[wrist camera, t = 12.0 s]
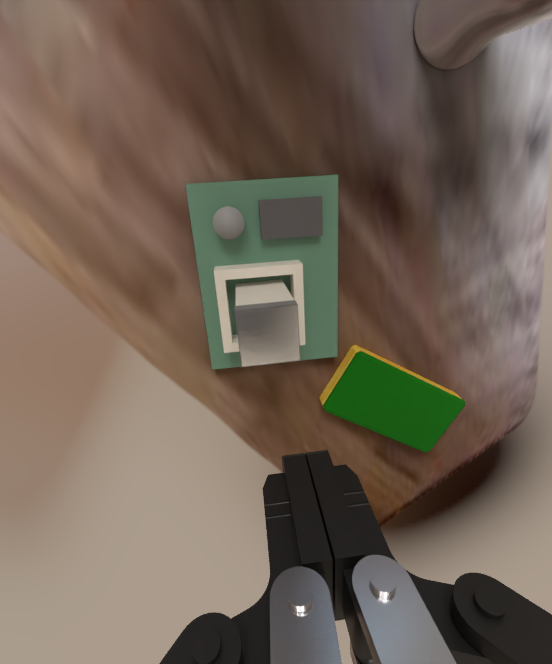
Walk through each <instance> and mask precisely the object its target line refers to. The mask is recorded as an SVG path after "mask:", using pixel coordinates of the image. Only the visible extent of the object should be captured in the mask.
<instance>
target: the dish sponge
mask: <svg viewBox="0 0 552 664" xmlns="http://www.w3.org/2000/svg"><path fill="white" fill-rule="evenodd" d="M319 398H320V401H321V403H322V406H323V408H324V410H325V411H326V412H328V413H331V414H333V415H335V416H338V417H340V418H343V419H345V420H348V421H350V422H352V423H355V424H357V425H360V426H362V427H365V428H367V429H370V430H372V431H374V432H377V433H379V434H382V435H384V436H387V437H389V438H391V439H394V440H396V441H399V442H401V443H404V444H406V445H408V446H411V447H413V448H416V449H418V450H421V451H423V452H429V451H430V450H431V449H432V448H433V446H434V445H435V444H436V442H437V441H438V440H439V439H440V437H441V436H442V435H443V433H444V432H445V431H446V429H447V428H448V427H449V426H450V424H451V423H452V422H453V420H454V419H455V418H456V417H457V415H458V414H459V413H460V411H461V410H462V409H463V407H464V406H465V401H464V400H463V399H461V397H459V396H458V395H457V394H456V393H455V392H453V391H451V390H449V389H447V388H445V387H443V386H441V385H438V384H436V383H434V382H432V381H430V380H428V379H426V378H424V377H422V376H420V375H418V374H416V373H414V372H411V371H409V370H407V369H405V368H403V367H401V366H399V365H397V364H395V363H393V362H391V361H389V360H386V359H384V358H382V357H380V356H378V355H376V354H374V353H372V352H370V351H368V350H366V349H364V348H362V347H359V346H357V345H354V346H351V348H350V350H349V351H348V353H347V354H346V356H345V357H344V359H343V361H342V362H341V364H340V365H339V367H338V369H337V370H336V372H335V373H334V375H333V377H332V378H331V380H330V381H329V383H328V385H327V386H326V388H325V389H324V391H323V393H322V394H321V396H320V397H319Z"/></svg>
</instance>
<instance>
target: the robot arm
mask: <svg viewBox="0 0 552 664" xmlns="http://www.w3.org/2000/svg"><path fill="white" fill-rule="evenodd" d="M282 466H283V473H279V474H271V475H268V477H267V479H266V482H265V484H264V487H263V496H264V507H265V517H266V529H267V540H268V551H269V562H270V579H269V583H268V586H267V589H266V591H265V593H264V594H263V596H262V597H261V598H260V599H259V601H258V602H257V603H255V604H254V605H253V606H252V607H250V608H249V609H247V610H245V611H244V612H242V613H240V614H239V615H237V616H235V617H233V618H232V619H230V618H229V617H227V616H226V615H224V614H221V613H207V614H204V615H201V616H199V617H197V618H196V619H194V620H193V621H192V622H191V623H190V624H189V625H187V627H186V628H185V629H184V630H183V632H182V633H181V634H180V636H179V637H178V639H177V640H176V641H175V643H174V644H173V646H172V647H171V648H170V650H169V651H168V653H167V654H166V655H165V657H164V658H163V660H162V661H161V662H160V664H342V662H341V656H340V650H339V644H338V638H337V632H336V626H335V621H336V620H343V619H345V620H346V624H347V628H348V632H349V636H350V653H351V658H352V661H353V664H552V615H551V614H550V613H548V612H547V611H545V610H543V609H542V608H540V607H539V606H537V605H535V604H534V603H532V602H531V601H529V600H528V599H526V598H524V597H523V596H521V595H520V594H518V593H516V592H515V591H513V590H512V589H510V588H509V587H507V586H505V585H504V584H502V583H501V582H499V581H497V580H496V579H494V578H492V577H489V576H487V575H484V574H481V573H467V574H464V575H462V576H460V577H459V578H458V579H457V580H456V582H455V584H454V585H451V584H446V583H441V582H436V581H431V580H426V579H422V578H419V577H417V576H415V575H413V574H411V573H410V572H408V571H407V570H405V569H404V568H403V567H402V566H401V565H400V564H399V563H398V562H397V561H396V560H395V558H394V557H393V556H392V554H391V552H390V550H389V548H388V545H387V543H386V541H385V538H384V536H383V534H382V531H381V529H380V527H379V524H378V522H377V520H376V518H375V515H374V513H373V511H372V508H371V506H370V505H369V502H368V499H367V497H366V495H365V493H364V490H363V488H362V485H361V483H360V481H359V479H358V476H357V475H356V474H355V473H354V472H353V471H352V470H351V469H350V468H349V467H348V466H347V465H339V466H333V464H332V461H331V458H330V455H329V453H328V451H327V450H324V451H316V452H308V453H305V455H304V453H301V454H293V455H285V456H282ZM334 618H335V620H334Z"/></svg>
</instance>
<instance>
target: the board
mask: <svg viewBox="0 0 552 664" xmlns="http://www.w3.org/2000/svg"><path fill="white" fill-rule="evenodd" d="M186 191H187V198H188V205H189V212H190V219H191V226H192V233H193V239H194V246H195V253H196V260H197V267H198V274H199V281H200V288H201V295H202V302H203V309H204V316H205V323H206V329H207V336H208V343H209V350H210V357H211V364H212V370H214V369H223V368H233V367H241V359H240V351H239V342H238V334H237V326H236V318H235V306H236V284H237V283H248V282H258V281H269V280H279V279H282V281H283V282H284V284H285V286H286V287H287V289H288V291H289V292H290V294H291V296H292V297H293V299H294V300H295V301H296V302H297V304H298V321H299V340H300V360H309V359H319V358H329V357H338V175H325V176H308V177H292V178H276V179H259V180H243V181H227V182H210V183H194V184H186Z"/></svg>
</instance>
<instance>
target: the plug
mask: <svg viewBox="0 0 552 664" xmlns="http://www.w3.org/2000/svg"><path fill="white" fill-rule="evenodd" d="M235 318H236V326H237V334H238V342H239V351H240V359H241V367H250V366H259V365H268V364H276V363H285V362H294V361H301V360H300V340H299V321H298V304H297V302H296V301H295V300H294V299H293V297H292V296H291V294H290V292H289V291H288V289H287V287H286V286H285V284H284V282H283V281H282V279H279V280H269V281H258V282H248V283H237V284H236V306H235Z"/></svg>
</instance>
